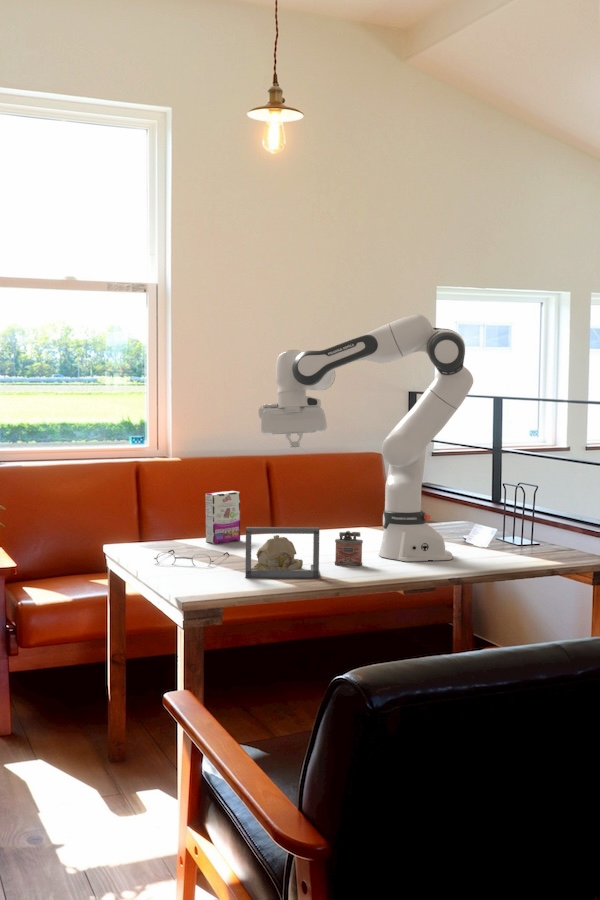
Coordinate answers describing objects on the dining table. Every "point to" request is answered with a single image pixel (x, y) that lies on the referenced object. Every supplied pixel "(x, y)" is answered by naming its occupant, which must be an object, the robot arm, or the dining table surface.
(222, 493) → the candy bar box
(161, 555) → the eyeglasses
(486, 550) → the dining table surface
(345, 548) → the lighter
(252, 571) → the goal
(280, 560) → the ceramic model
